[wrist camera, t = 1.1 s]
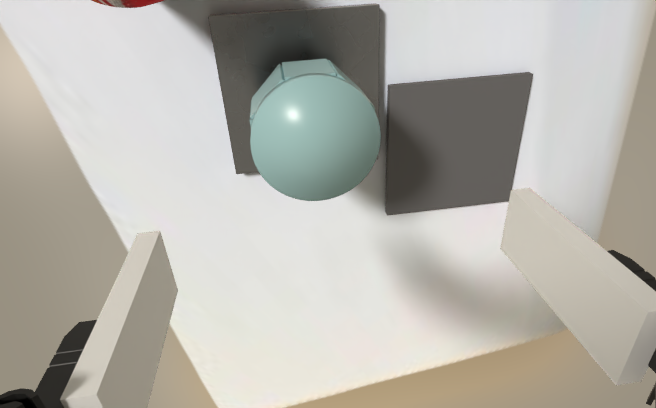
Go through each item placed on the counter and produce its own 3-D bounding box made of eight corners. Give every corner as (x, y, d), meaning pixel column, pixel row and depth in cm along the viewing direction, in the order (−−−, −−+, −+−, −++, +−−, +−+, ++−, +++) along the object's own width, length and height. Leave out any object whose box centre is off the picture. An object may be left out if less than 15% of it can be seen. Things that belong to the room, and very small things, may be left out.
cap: (244, 63, 26) (240, 83, 22) (362, 53, 27) (381, 71, 22) (261, 178, 30) (260, 214, 26) (363, 167, 31) (380, 200, 26)
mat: (387, 84, 34) (389, 86, 33) (528, 72, 35) (532, 73, 34) (385, 211, 40) (387, 215, 39) (505, 197, 41) (509, 200, 41)
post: (209, 15, 30) (188, 36, 21) (376, 3, 31) (419, 19, 22) (237, 169, 36) (228, 234, 27) (375, 154, 37) (409, 213, 28)
